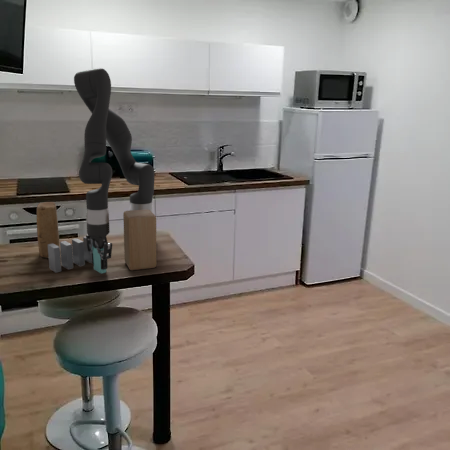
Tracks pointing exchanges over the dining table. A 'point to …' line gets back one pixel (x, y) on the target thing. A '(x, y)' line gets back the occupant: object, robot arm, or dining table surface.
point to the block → (47, 227)
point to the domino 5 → (97, 261)
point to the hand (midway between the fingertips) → (99, 266)
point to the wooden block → (139, 239)
